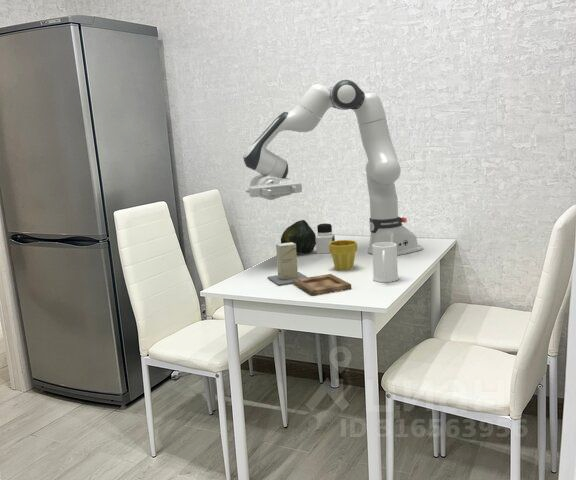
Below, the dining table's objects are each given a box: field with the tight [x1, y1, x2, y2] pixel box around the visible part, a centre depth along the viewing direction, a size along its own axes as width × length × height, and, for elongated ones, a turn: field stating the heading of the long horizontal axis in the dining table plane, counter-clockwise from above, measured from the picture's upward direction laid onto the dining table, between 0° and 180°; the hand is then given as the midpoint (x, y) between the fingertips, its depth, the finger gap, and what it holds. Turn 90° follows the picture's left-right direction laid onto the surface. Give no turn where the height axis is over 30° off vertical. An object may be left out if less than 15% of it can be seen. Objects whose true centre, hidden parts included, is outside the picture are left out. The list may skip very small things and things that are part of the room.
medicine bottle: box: [315, 222, 336, 255], centre depth 242 cm, size 7×7×12 cm
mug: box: [372, 242, 399, 283], centre depth 192 cm, size 12×8×12 cm
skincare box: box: [275, 242, 299, 280], centre depth 202 cm, size 6×4×12 cm
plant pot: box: [329, 239, 358, 271], centre depth 212 cm, size 10×10×10 cm
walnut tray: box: [292, 273, 352, 297], centre depth 191 cm, size 14×16×2 cm
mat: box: [267, 271, 309, 287], centre depth 203 cm, size 12×12×1 cm
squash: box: [280, 219, 317, 254], centre depth 243 cm, size 14×15×15 cm
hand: (282, 191), depth 210 cm, fingers open, 8 cm apart
